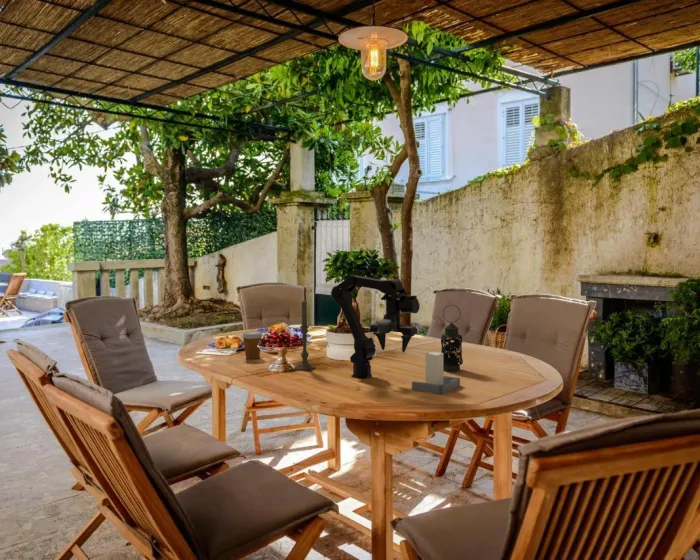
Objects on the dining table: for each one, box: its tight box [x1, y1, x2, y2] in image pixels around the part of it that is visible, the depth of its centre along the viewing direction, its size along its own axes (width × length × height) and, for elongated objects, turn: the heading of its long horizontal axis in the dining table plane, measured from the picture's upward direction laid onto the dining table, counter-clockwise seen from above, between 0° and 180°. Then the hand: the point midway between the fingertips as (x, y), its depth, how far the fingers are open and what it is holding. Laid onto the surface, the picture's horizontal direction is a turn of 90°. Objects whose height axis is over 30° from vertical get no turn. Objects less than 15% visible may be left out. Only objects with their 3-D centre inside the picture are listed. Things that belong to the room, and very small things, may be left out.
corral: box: [411, 375, 461, 395], centre depth 224 cm, size 12×15×3 cm
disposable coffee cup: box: [241, 330, 263, 360], centre depth 282 cm, size 10×10×12 cm
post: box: [424, 351, 444, 385], centre depth 224 cm, size 5×5×13 cm
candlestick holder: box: [294, 299, 316, 371], centre depth 258 cm, size 9×9×30 cm
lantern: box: [440, 304, 464, 373], centre depth 252 cm, size 10×9×28 cm
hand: (393, 351), depth 234 cm, fingers open, 9 cm apart
